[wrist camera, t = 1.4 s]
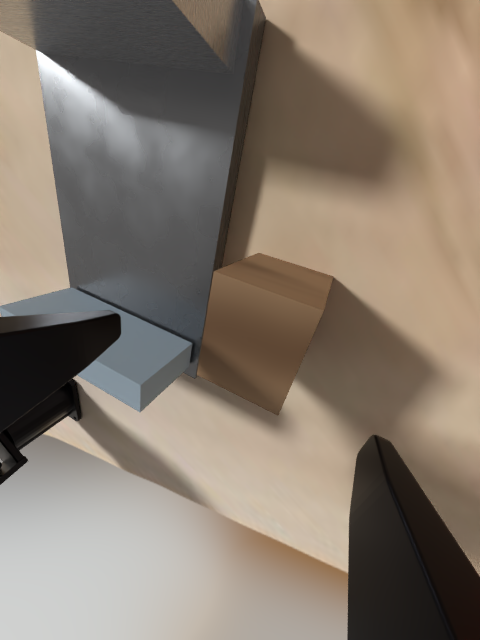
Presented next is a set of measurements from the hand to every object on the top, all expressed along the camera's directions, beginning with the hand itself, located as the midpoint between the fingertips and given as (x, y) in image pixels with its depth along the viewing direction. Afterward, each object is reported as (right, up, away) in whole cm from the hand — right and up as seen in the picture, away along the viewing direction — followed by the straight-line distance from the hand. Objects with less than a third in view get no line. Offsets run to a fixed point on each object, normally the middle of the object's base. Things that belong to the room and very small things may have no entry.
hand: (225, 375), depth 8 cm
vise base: (-6, +8, +7) cm, 12 cm away
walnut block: (+3, +3, +6) cm, 7 cm away
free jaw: (-8, +1, +10) cm, 12 cm away
